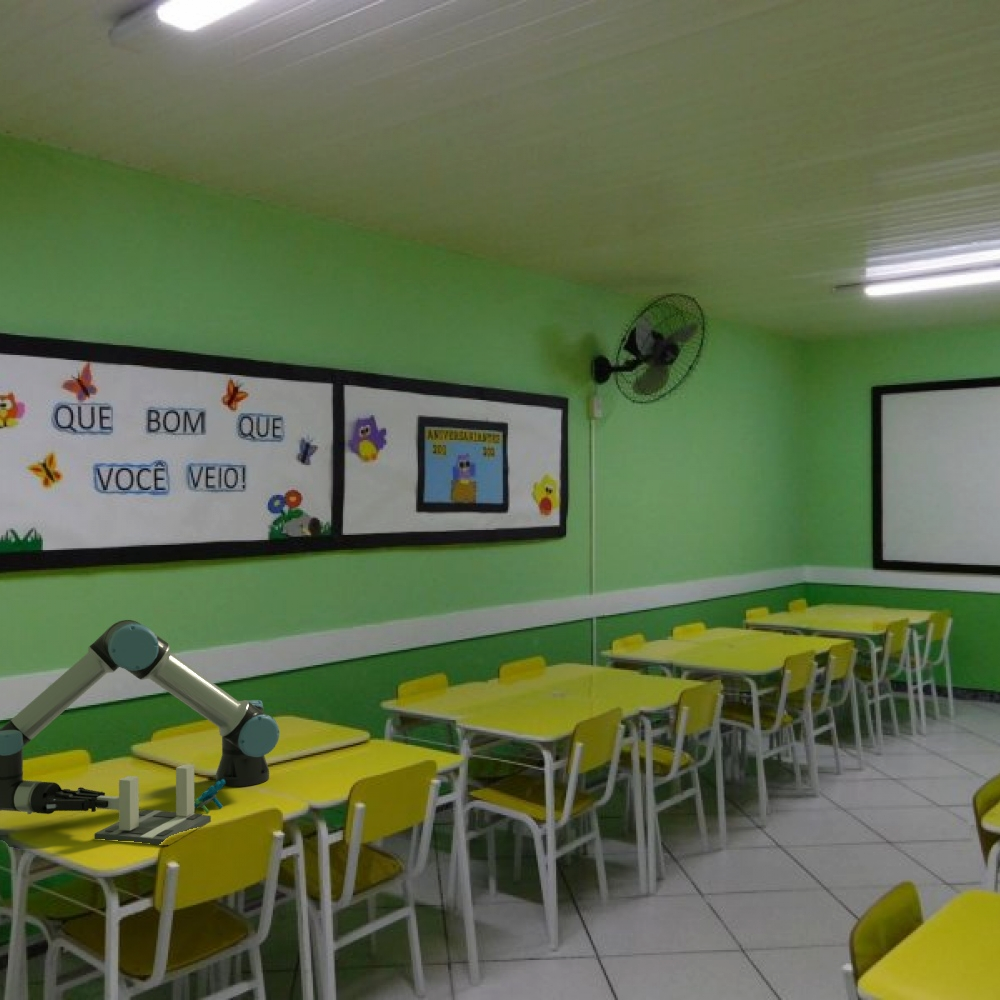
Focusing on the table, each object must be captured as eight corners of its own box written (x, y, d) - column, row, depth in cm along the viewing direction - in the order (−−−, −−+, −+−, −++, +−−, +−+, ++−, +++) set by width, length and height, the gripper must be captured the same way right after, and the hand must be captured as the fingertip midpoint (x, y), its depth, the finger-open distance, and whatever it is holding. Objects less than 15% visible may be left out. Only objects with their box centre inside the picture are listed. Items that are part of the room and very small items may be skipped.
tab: (119, 829, 241) (119, 779, 241) (128, 825, 244) (127, 776, 244) (130, 830, 240) (129, 780, 240) (138, 826, 243) (138, 776, 243)
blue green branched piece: (210, 794, 272) (228, 772, 268) (224, 810, 271) (242, 788, 267) (182, 811, 262) (201, 788, 258) (196, 828, 261) (215, 805, 257)
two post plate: (94, 839, 240) (94, 780, 240) (141, 816, 258) (141, 761, 258) (168, 846, 235) (167, 786, 235) (210, 821, 253) (210, 765, 253)
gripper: (57, 804, 254) (138, 811, 249) (20, 820, 242) (105, 827, 236) (57, 775, 255) (138, 781, 249) (20, 789, 242) (105, 795, 236)
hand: (122, 803), depth 242 cm, fingers closed
